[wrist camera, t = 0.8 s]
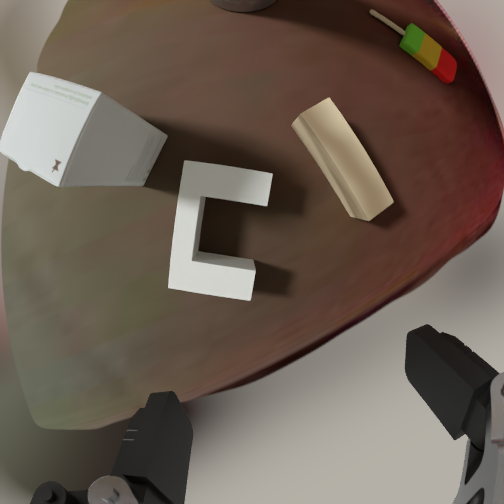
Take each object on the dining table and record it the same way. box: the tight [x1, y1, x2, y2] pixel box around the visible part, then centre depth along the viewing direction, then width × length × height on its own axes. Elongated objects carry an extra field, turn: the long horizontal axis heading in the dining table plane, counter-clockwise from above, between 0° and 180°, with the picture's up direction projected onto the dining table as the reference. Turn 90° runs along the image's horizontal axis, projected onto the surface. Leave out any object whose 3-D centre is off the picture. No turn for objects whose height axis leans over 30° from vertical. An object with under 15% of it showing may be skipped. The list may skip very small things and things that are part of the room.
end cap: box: [168, 160, 273, 301], centre depth 28 cm, size 12×8×4 cm, turn 170°
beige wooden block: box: [291, 98, 394, 221], centre depth 27 cm, size 4×12×5 cm, turn 35°
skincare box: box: [0, 72, 168, 187], centre depth 20 cm, size 8×7×16 cm
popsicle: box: [369, 9, 457, 84], centre depth 25 cm, size 6×15×2 cm, turn 63°
